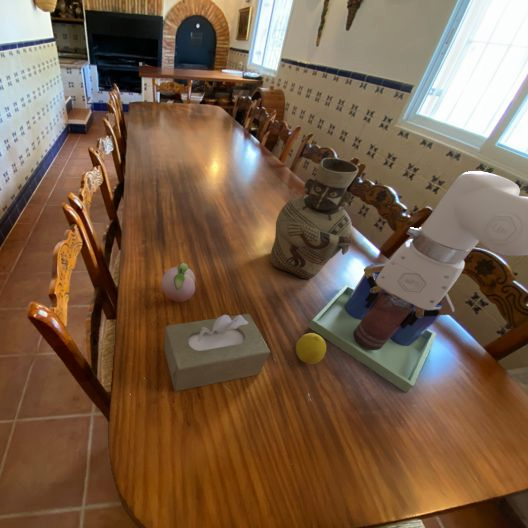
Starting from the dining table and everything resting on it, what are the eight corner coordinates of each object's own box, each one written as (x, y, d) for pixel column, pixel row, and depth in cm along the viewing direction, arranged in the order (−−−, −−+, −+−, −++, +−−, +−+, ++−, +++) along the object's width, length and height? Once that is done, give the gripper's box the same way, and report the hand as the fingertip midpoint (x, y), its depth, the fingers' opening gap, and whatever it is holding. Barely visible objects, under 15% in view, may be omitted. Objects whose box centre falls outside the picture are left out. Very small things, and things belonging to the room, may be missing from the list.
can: (352, 325, 71) (382, 282, 62) (381, 337, 69) (416, 295, 60) (349, 342, 67) (380, 300, 58) (380, 356, 65) (417, 314, 56)
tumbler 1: (371, 313, 76) (401, 273, 68) (363, 325, 73) (393, 284, 64) (348, 300, 80) (374, 259, 71) (339, 311, 76) (365, 270, 67)
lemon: (291, 367, 63) (304, 344, 58) (290, 345, 67) (302, 323, 62) (318, 374, 62) (334, 352, 57) (315, 352, 66) (330, 329, 61)
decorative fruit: (162, 284, 79) (164, 254, 73) (192, 286, 79) (197, 257, 73) (159, 310, 72) (160, 280, 66) (192, 313, 72) (197, 283, 66)
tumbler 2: (414, 338, 71) (453, 297, 62) (407, 352, 68) (447, 311, 59) (388, 322, 74) (421, 282, 65) (379, 335, 71) (413, 294, 62)
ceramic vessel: (300, 293, 80) (349, 191, 61) (253, 249, 94) (280, 155, 75) (347, 276, 88) (405, 180, 68) (297, 237, 102) (332, 149, 82)
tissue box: (172, 392, 57) (178, 343, 47) (162, 349, 64) (165, 298, 54) (261, 374, 61) (284, 325, 51) (242, 335, 68) (259, 286, 58)
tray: (430, 340, 71) (437, 333, 69) (406, 392, 60) (413, 386, 58) (342, 290, 82) (346, 283, 81) (308, 326, 72) (312, 320, 70)
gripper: (379, 231, 54) (338, 299, 65) (500, 282, 44) (427, 351, 56) (392, 218, 58) (351, 284, 69) (505, 262, 49) (437, 330, 60)
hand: (386, 313), depth 62 cm, fingers closed on can, 6 cm apart
